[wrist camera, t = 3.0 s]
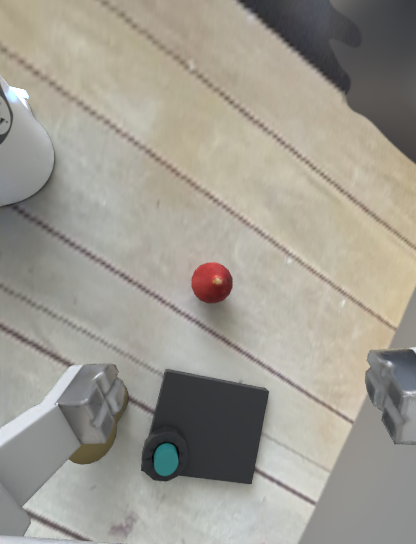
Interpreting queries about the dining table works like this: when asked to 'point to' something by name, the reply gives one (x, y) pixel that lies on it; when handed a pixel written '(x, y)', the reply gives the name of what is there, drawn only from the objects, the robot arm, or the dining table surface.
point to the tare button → (165, 459)
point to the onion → (211, 282)
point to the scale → (207, 427)
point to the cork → (98, 450)
